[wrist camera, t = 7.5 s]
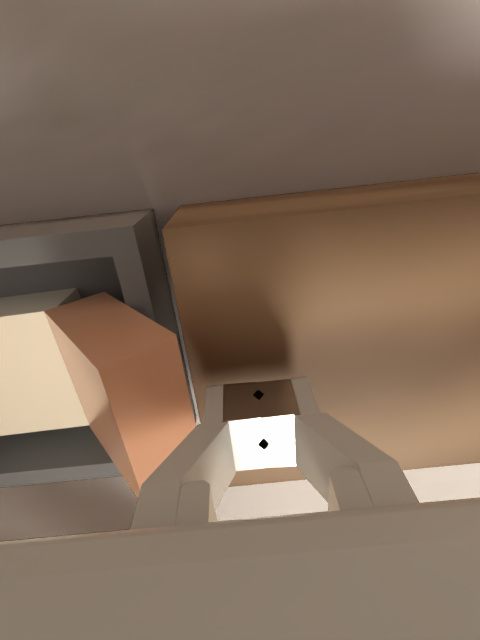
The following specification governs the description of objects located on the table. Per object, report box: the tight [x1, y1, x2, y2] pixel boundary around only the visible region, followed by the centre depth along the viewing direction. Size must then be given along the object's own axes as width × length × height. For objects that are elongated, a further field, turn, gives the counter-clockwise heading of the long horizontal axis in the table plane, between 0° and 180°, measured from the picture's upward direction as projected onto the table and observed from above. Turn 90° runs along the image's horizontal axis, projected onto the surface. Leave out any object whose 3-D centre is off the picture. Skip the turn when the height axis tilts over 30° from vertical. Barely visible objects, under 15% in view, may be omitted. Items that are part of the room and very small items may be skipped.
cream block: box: [0, 288, 89, 436], centre depth 13 cm, size 5×5×2 cm
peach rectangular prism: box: [44, 292, 196, 498], centre depth 11 cm, size 5×5×2 cm
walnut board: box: [162, 173, 480, 487], centre depth 13 cm, size 10×14×4 cm
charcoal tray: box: [0, 209, 196, 488], centre depth 13 cm, size 10×12×3 cm
